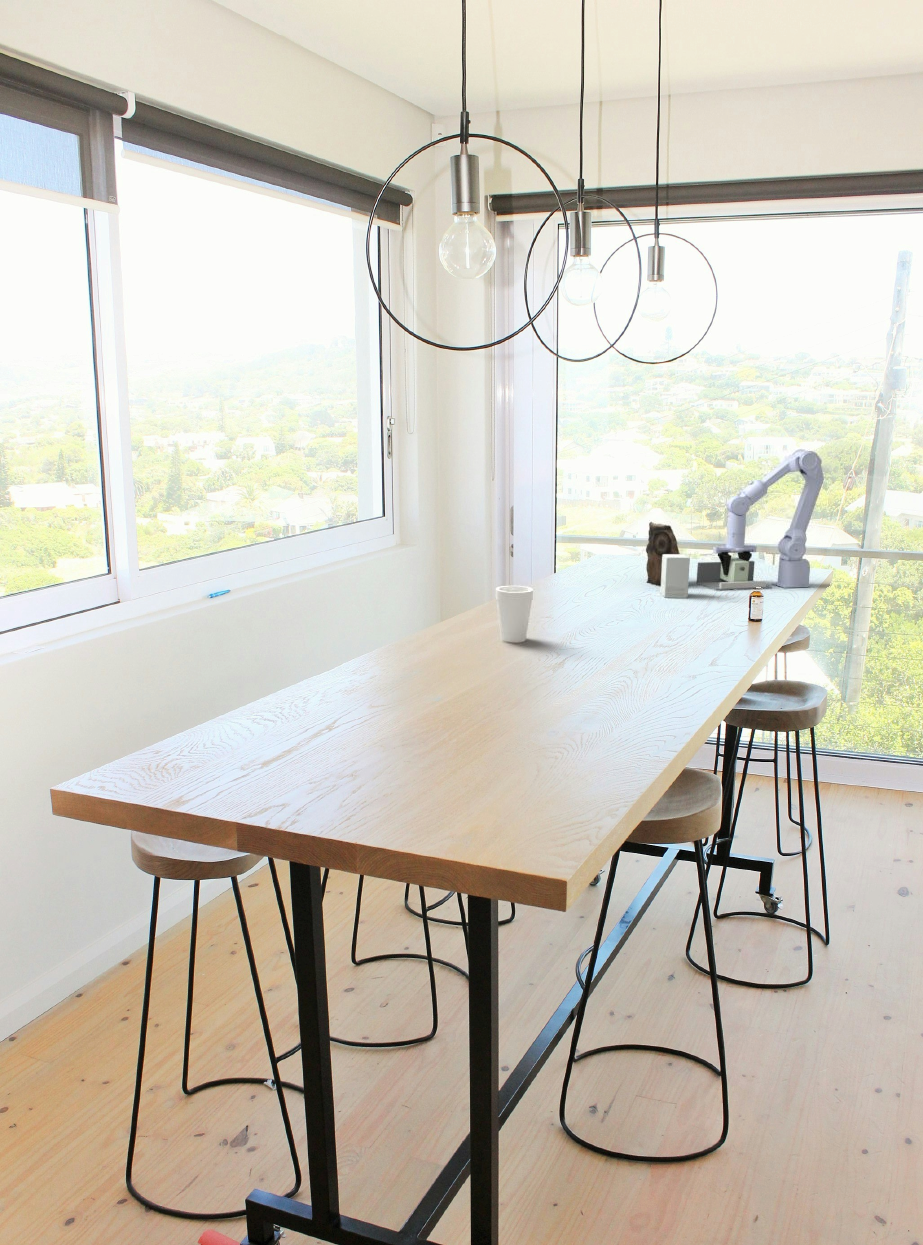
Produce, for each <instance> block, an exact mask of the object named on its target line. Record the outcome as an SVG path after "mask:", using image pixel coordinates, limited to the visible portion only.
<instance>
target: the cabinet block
mask: <svg viewBox="0 0 923 1245" xmlns="http://www.w3.org/2000/svg"><path fill="white" fill-rule="evenodd" d="M748 570H749V562H748V561H745V560H742V559H740V558H738V557H736V556H732V557H731V560H730V565H729V573H728V575H724V574H723V568H722V564H721V571H720V578H721V579H723V580H725V581H728V582H746V581H748Z"/></svg>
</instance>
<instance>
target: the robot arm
mask: <svg viewBox="0 0 923 1245" xmlns="http://www.w3.org/2000/svg"><path fill="white" fill-rule="evenodd" d="M795 472H799V473H800V474H801V476H802V478H803V480H804V483H803V484H804V485H803V488H802V490H801V493H800V496H799V500H798V502H797V506H796V508H795V511H794V514H793V517H792V520H791V523H790V526H789V527H788V529H787V530H786V531H785V533H784V535H783V537H782V538H781V539H780V541H779V542H778V544H777V548H778V551H779V553H780V555H779V559H778V571H777V572H778V573H777V581H775V582H773V581H772V582H771V584H772V585H775V586H778V587H781V588H785V589H788V588H792V589H793V588H810V587H811V585H810V575H811V574H810V573H811V572H810V571H811V565H810V561H809V560H808V559H806V558H803V557H804V556H805V554H806V550H807V548H806V543H807V529H808V526H809V524H810V521H811V517H812V516H813V512H814V509H815V507H816V504H817V501H818V497H819V495H820V492H821V489H822V486H823V485H824V484H823V483H824V473H823V467H822V459H821V457H820V456H819V455H818V453H817V452H815V451H813V450H805V449H802V448H801V449H797V450H795V451H793V453H792V454H789V455H788V456H786V458H785V459H783V460H782V461H781V462H780V463H779V464H778V465H776V466H775V467H774V468H773V469H772V470H771V471H770V472H769V473H767V474H766V475H765V476H764V477H763V478H761V479H754V480H750V481H749V482H748V485H747V486H746V487H744V488H743V489H742V490H741V491H738V492H736V494H737V495H734V496H731V497H730V498H729V499H728V501H727V503H726V504H725V505H726V509H727V511H728V514H727V515H728V516H727V517H728V518H727V524H726V525H727V528H726V542H725V545H721V546H713V549H712V553H713V554H716V555H717V556H718V559H719V562H721V564H722V568H723V574H724V575H728V573H729V565H730V560H731V557H733V556H732V555H731V554H733V553H735V554H736V553H737V556H738V557H737V558H740V559H742V560H745V561H751V560H750V559H751V558H752V556H753V553H757V546H755V545H745V542H746V540H745V538H746V526H747V513H749V511H750V509H751V507H752V506H753V505H754V504H755V503H757V502H758V501H760V500H761V499H762V498H764V497H765V495H767V494H768V490H769V487H771V486H772V485H774V484H775V483H776V482H778V481H779V480H781V479H782V478H783V477H785V476H786V475H787V474H788V473H795ZM730 553H731V554H730Z"/></svg>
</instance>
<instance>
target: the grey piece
mask: <svg viewBox="0 0 923 1245" xmlns="http://www.w3.org/2000/svg"><path fill="white" fill-rule="evenodd" d="M748 562H749V570H748V581H746V582H728V581H725V580H723V579H721V578H720V571H721V561H705V562H703V561H702V562H701V561H700V562H697V569H696V584H697V583H699V584H701V585H700V586H702V585H703V586H702V587H705V586H706V587H705V588H707V587H708V589H710V588H711V589H710V590H713V589H714V590H713V591H715V590H720V591H731V590H730V589H744V590H753V589H752V588H756V587H761V588H763V589H772V586H770V585H768V584H767V581H766V580H754V578H755V577H754V576H755V575H754V574H755V573H754V572H755V563H756V562H755V560H749V561H748ZM699 584H698V585H699ZM763 589H762V590H763Z"/></svg>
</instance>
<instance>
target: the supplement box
mask: <svg viewBox="0 0 923 1245" xmlns="http://www.w3.org/2000/svg"><path fill="white" fill-rule="evenodd" d="M690 559H691V558H690V556H688V555H686V554H684V553H683V554H682V553H681V554H663V555H662V573H661V586H660V590H659V591H660V594H661V596H662V597H664V598H665V599H666V598H667V599H669V598H671V599H672V598H673V599H687V598H688V597H689V578H690V563H691V562H690V561H691V560H690Z"/></svg>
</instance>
